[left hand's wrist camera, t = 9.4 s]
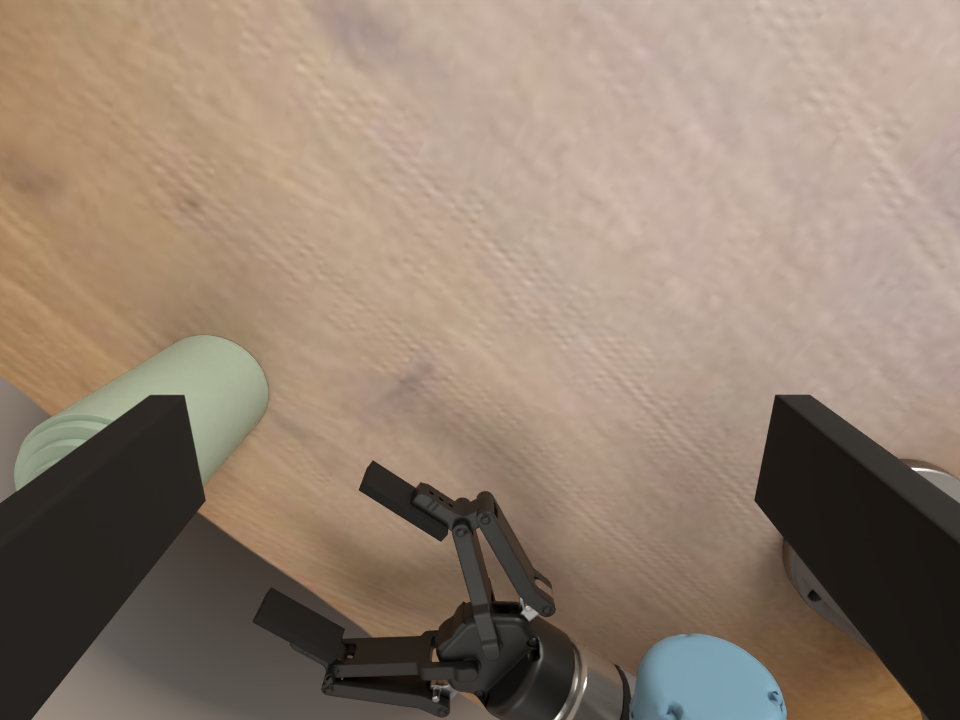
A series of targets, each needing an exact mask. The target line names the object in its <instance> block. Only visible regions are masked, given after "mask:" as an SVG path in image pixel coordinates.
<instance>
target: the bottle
mask: <svg viewBox="0 0 960 720" xmlns="http://www.w3.org/2000/svg"><path fill="white" fill-rule="evenodd" d="M149 395H185V399H186V404H187V409H188V414H189V419H190V424H191V429H192V434H193V439H194V444H195V450H196V455H197V460H198V465H199V470H200V475H201V480H202V485H203V487H204V486H205V484H206V483H207V482H208V481H209V480H210V479H211V477H212V476H213V475H214V474H215V473H216V472H217V470H218V469H219V468H220V467H221V466H222V464H223V463H224V462H225V461H226V460H227V459H228V457H229V456H230V455H231V454H232V453H233V451H234V450H235V449H236V448H237V447H238V446H239V444H240V443H241V442H242V441H243V440H244V438H245V437H246V436H247V435H248V434H249V433H250V431H251V430H252V429H253V428H254V427H255V425H256V424H257V423H258V422H259V421H260V419H261V418H262V416H263V415H264V413H265V410H266V407H267V404H268V385H267V381H266V378H265V375H264V373H263V371H262V369H261V367H260V366H259V364H258V363H257V362H256V360H255V359H254V358H253V357H252V356H251V355H250V354H249V353H248V352H247V351H246V350H244V349H243V348H242V347H240V346H239V345H237V344H235V343H233V342H231V341H229V340H226V339H224V338H220V337H216V336H209V335H197V336H191V337H187V338H184V339H182V340H180V341H178V342H176V343H174V344H173V345H171V346H169V347H168V348H166V349H164V350H163V351H161V352H159V353H158V354H156V355H154V356H153V357H151V358H149V359H148V360H146V361H144V362H143V363H141V364H139V365H138V366H136V367H134V368H133V369H131V370H129V371H128V372H126V373H124V374H123V375H121V376H119V377H118V378H116V379H114V380H113V381H111V382H109V383H108V384H106V385H104V386H103V387H101V388H100V389H98V390H96V391H95V392H93V393H91V394H90V395H88V396H86V397H85V398H83V399H81V400H80V401H78V402H76V403H75V404H73V405H71V406H70V407H68V408H66V409H65V410H63V411H61V412H60V413H58V414H56V415H55V416H53V417H51V418H50V419H48V420H46V421H45V422H43V423H41V424H40V425H38V426H37V427H36V428H34V429H33V430H32V431H31V432H30V433H29V435H28V436H27V437H26V438H25V440H24V442H23V444H22V446H21V448H20V451H19V454H18V457H17V460H16V463H15V469H14V481H15V487H16V490H17V491H18V490H19V489H21V488H22V487H24V486H25V485H26V484H28V483H29V482H30V481H32V480H33V479H35V478H36V477H37V476H39V475H40V474H41V473H43V472H44V471H46V470H47V469H48V468H50V467H51V466H53V465H54V464H55V463H57V462H58V461H59V460H61V459H62V458H64V457H65V456H66V455H68V454H69V453H70V452H72V451H73V450H75V449H76V448H77V447H79V446H80V445H82V444H83V443H84V442H86V441H87V440H88V439H90V438H91V437H93V436H94V435H95V434H97V433H98V432H99V431H101V430H102V429H104V428H105V427H106V426H108V425H109V424H111V423H112V422H113V421H115V420H116V419H117V418H119V417H120V416H122V415H123V414H124V413H126V412H127V411H128V410H130V409H131V408H133V407H134V406H135V405H137V404H138V403H140V402H141V401H142V400H144V399H145V398H146V397H148V396H149Z"/></svg>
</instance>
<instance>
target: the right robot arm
mask: <svg viewBox="0 0 960 720" xmlns="http://www.w3.org/2000/svg"><path fill="white" fill-rule="evenodd" d="M899 460H901V461H902V462H903V463H905V464H906V465H908V466H909V467H910V468H912V469H913V470H914V471H916V472H917V473H919V474H920V475H921V476H923V477H924V478H925V479H927V480H928V481H930V482H931V483H932V484H934V485H935V486H937V487H938V488H939V489H941V490H942V491H943V492H945V493H946V494H948V495H949V496H950V497H952V498H953V499H954V500H956V501H957V502H959V503H960V480H959V479H958V478H956V477H955V476H953V475H952V474H950V473H949V472H947V471H945V470H944V469H942V468H940V467H938V466H935V465H933V464H930V463H926V462H922V461H917V460H908V459H899ZM359 491H361V492H362V493H364V494H366V495H367V496H369V497H370V498H372V499H374V500H375V501H377V502H378V503H380V504H382V505H383V506H385V507H386V508H388V509H390V510H391V511H393V512H394V513H396V514H397V515H399V516H401V517H402V518H404V519H405V520H407V521H409V522H410V523H412V524H413V525H415V526H417V527H418V528H420V529H421V530H423V531H425V532H426V533H428V534H429V535H431V536H432V537H434V538H436V539H437V540H439V541H440V542H441V541H442V540H443V539H444V538H445V537H446V536H447V535H448V529H449V530H451V531H452V535H453V539H454V542H455V546H456V550H457V553H458V557H459V560H460V564H461V568H462V571H463V575H464V578H465V582H466V585H467V589H468V593H469V596H470V600H471V602H468V603H465V602H463V603H462V604H461V605H460V606H459V607H458V608H457V610H456V612H455V614H454V615H453V616H452V617H451V618H449V619H447V620H446V621H444V622H443V623H442V624H441V626H440V627H439V630H434V631H426V632H424V633H423V634H422V635H421V636H410V637H381V638H352V639H342V637H343V633H344V630H345V629H344V628H342V627H341V626H339V625H337V624H335V623H333V622H332V621H330V620H328V619H326V618H325V617H323V616H321V615H319V614H318V613H316V612H314V611H312V610H310V609H309V608H307V607H305V606H303V605H302V604H300V603H298V602H296V601H294V600H293V599H291V598H289V597H287V596H286V595H284V594H282V593H280V592H279V591H277V590H275V589H273V588H271V589H270V590H269V591H268V592H267V594H266V596H265V598H264V600H263V602H262V604H261V606H260V608H259V610H258V612H257V614H256V616H255V618H254V620H253V623H255V624H257V625H259V626H261V627H263V628H264V629H266V630H268V631H270V632H272V633H274V634H275V635H277V636H279V637H281V638H283V639H285V640H286V641H288V642H290V646H291V647H292V648H293V649H294V650H296V651H297V652H300V653H302V654H303V655H306V656H307V657H309V658H310V659H312V660H314V661H316V662H318V663H320V664H321V665H323V666H324V667H325V669H326V674H325V678H324V681H323V685H322V688H321V689H322V692H323V693H324V694H326V695H329V696H336V697H343V698H350V699H357V700H364V701H371V702H378V703H385V704H392V705H399V706H406V707H413V708H419V709H421V710H424V711H426V712H428V713H431V714H433V715H435V716H438V717H446V716H448V715H449V713H450V701H451V700H452V699H453V697H454V696H455V695H456V694H457V692H458V691H460V692H468V693H472V694H474V695H476V696H477V697H478V698H479V700H480V701H481V702H482V704H483V705H484V706H485V708H486V709H487V711H488V712H489V713H490V714H492V715H493V716H495V717H497V718H499V719H500V720H786V716H787V712H786V707H785V703H784V700H783V695H782V693H781V690H780V688H779V686H778V684H777V682H776V681H775V679H774V678H773V677H772V675H771V674H770V672H769V671H768V670H767V669H766V668H765V667H764V666H763V665H762V664H761V663H760V662H759V661H758V660H757V659H755V658H754V657H753V656H752V655H750V654H749V653H748V652H747V651H745V650H743V649H742V648H740V647H739V646H737V645H735V644H733V643H731V642H729V641H726V640H724V639H721V638H718V637H715V636H710V635H706V634H699V633H691V634H686V635H685V634H680V635H677V636H674V635H673V636H669V637H666V638H664V639H662V640H660V641H658V642H657V643H655V644H654V645H653V646H652V647H650V648H649V649H648V651H647V652H646V653H645V655H644V656H643V658H642V660H641V663H640V665H639V668H638V672H637V677H635V676H634V675H632V674H630V673H629V672H627V671H625V670H624V669H622V668H620V667H619V666H617V665H614V664H613V663H611V662H610V661H609V660H607V659H606V658H604V657H602V656H601V655H599V654H597V653H596V652H594V651H593V650H591V649H589V648H588V647H586V646H585V645H583V644H581V643H580V642H578V641H576V640H575V639H573V638H569V637H568V636H567V634H566V633H564V632H563V631H561V630H560V629H558V628H556V627H555V626H553V625H552V624H550V623H548V622H547V621H545V620H544V619H542V618H540V617H539V616H537V615H539V614H540V615H542V616H544V617H549V616H551V615H553V614H554V613H555V605H554V598H553V592H552V586H551V582H550V581H549V580H548V579H546V578H545V577H544V576H543V575H541V574H540V573H539V572H538V571H537V570H535V569H534V568H533V566H532V565H531V563H530V561H529V559H528V557H527V556H526V554H525V552H524V550H523V548H522V547H521V545H520V543H519V541H518V539H517V538H516V536H515V534H514V532H513V530H512V529H511V527H510V525H509V523H508V521H507V520H506V518H505V516H504V514H503V513H502V511H501V509H500V507H499V505H498V504H497V502H496V500H495V498H494V496H493V495H492V494H491V493H490V492H487V491H483V492H481V493H479V494H478V495H477V499H475V500H473V501H471V502H470V501H469V500H468V499H466V498H459V499H457V500H456V501H453V500H452V499H450V498H449V497H447V496H446V495H444V494H442V493H440V492H439V491H438V490H436V489H435V488H433V487H432V486H430V485H429V484H425V483H420V484H419V485H418V486H417V487H416V488H415V487H413V486H412V485H410V484H409V483H407V482H406V481H404V480H403V479H401V478H399V477H398V476H396V475H395V474H393V473H392V472H390V471H389V470H387V469H385V468H384V467H382V466H381V465H379V464H378V463H376V462H375V461H372V462H371V464H370V465H369V466H368V467H367V469H366V472H365V475H364V477H363V480H362V483H361V485H360V488H359ZM479 527H480V529H481V531H482V532H483V534H484V536H485V537H486V539H487V541H488V543H489V544H490V546H491V548H492V550H493V551H494V553H495V555H496V556H497V558H498V560H499V562H500V563H501V565H502V567H503V568H504V570H505V572H506V574H507V575H508V577H509V579H510V581H511V582H512V584H513V586H514V587H515V589H516V591H517V593H518V594H519V602H520V603H518V602H506V601H495V597H494V593H493V589H492V585H491V581H490V578H488V574H487V571H486V567H485V563H484V559H483V555H482V551H481V548H480V544H479V540H478V536H477V532H476V529H477V528H479ZM783 560H784V566H785V570H786V573H787V575H788V578H789V580H790V581H791V583H792V585H793V586H794V587H795V589H796V590H797V591H798V593H799V594H800V596H801V597H802V598H803V600H804V601H805V602H806V603H807V604H808V605H809V606H810V607H811V608H812V609H813V610H814V611H815V612H816V613H818V614H819V615H820V616H822V617H823V618H824V619H826V620H827V621H829V622H830V623H832V624H833V625H834V626H836V627H837V628H839V629H840V630H842V631H843V632H844V633H846V634H847V635H849V636H850V637H852V638H853V639H854V640H856V641H857V642H859V643H860V644H862V645H863V646H864V647H866V648H867V649H869V650H870V651H872V652H873V653H874V654H876V653H875V651H874V650H873V649H872V648H871V646H870V645H869V644H868V643H867V641H866V640H865V639H864V638H863V636H862V635H861V634H860V633H859V631H858V630H857V629H856V628H855V626H854V625H853V624H852V623H851V621H850V620H849V619H848V618H847V616H846V615H845V614H844V612H843V611H842V610H841V609H840V607H839V606H838V605H837V604H836V602H835V601H834V600H833V599H832V597H831V596H830V595H829V594H828V592H827V591H826V590H825V589H824V587H823V586H822V585H821V584H820V582H819V581H818V580H817V579H816V577H815V576H814V575H813V574H812V572H811V571H810V570H809V569H808V567H807V566H806V565H805V564H804V562H803V561H802V560H801V558H800V557H799V556H798V555H797V553H796V552H795V551H794V550H793V548H792V547H791V546H790V545H789V543H788V542H787V541H786V540H785V541H784V548H783ZM434 648H436V653H437V657H438V659H439V661H440V662H432V653H433V649H434ZM348 655H351V656H353V658H352V659H350V658H347V656H348ZM876 655H877V654H876ZM877 656H878V655H877ZM878 658H879V656H878ZM879 659H880V658H879ZM880 660H881V659H880ZM881 661H882V660H881ZM882 662H883V661H882ZM883 664H884V663H883ZM884 665H885V664H884ZM885 666H886V665H885ZM886 667H887V666H886ZM887 669H888V668H887ZM888 670H889V669H888ZM889 671H890V670H889ZM891 674H892V673H891ZM892 675H893V674H892ZM893 676H894V675H893ZM341 677H344V678H343V680H341ZM895 679H896V678H895ZM896 680H897V679H896ZM897 681H898V680H897ZM898 683H899V682H898ZM899 684H900V683H899ZM900 685H901V684H900ZM901 686H902V685H901ZM902 688H903V687H902ZM903 689H904V688H903ZM904 690H905V689H904ZM905 691H906V690H905ZM906 693H907V692H906ZM907 694H908V693H907ZM908 695H909V694H908ZM909 696H910V695H909ZM910 698H911V697H910ZM911 699H912V698H911ZM912 700H913V699H912ZM913 701H914V700H913ZM914 703H915V702H914ZM915 704H916V703H915ZM916 705H917V704H916ZM917 707H918V705H917ZM918 708H919V707H918ZM919 710H920V712H921V715H922V719H923V720H929V719H928V718H927V717H926V715H925V714H924V713H923V712H922V710H921V709H920V708H919Z"/></svg>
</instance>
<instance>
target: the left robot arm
mask: <svg viewBox="0 0 960 720" xmlns="http://www.w3.org/2000/svg"><path fill="white" fill-rule="evenodd" d="M205 501H206V500H205V495H204V490H203V485H202V480H201V475H200V470H199V465H198V460H197V455H196V450H195V444H194V439H193V434H192V429H191V424H190V419H189V414H188V409H187V404H186V399H185V395H149V396H148V397H146V398H145V399H144V400H142V401H141V402H140V403H138V404H137V405H135V406H134V407H133V408H131V409H130V410H128V411H127V412H126V413H124V414H123V415H122V416H120V417H119V418H117V419H116V420H115V421H113V422H112V423H111V424H109V425H108V426H106V427H105V428H104V429H102V430H101V431H99V432H98V433H97V434H95V435H94V436H93V437H91V438H90V439H88V440H87V441H86V442H84V443H83V444H82V445H80V446H79V447H77V448H76V449H75V450H73V451H72V452H70V453H69V454H68V455H66V456H65V457H64V458H62V459H61V460H59V461H58V462H57V463H55V464H54V465H53V466H51V467H50V468H48V469H47V470H46V471H44V472H43V473H41V474H40V475H39V476H37V477H36V478H35V479H33V480H32V481H30V482H29V483H28V484H26V485H25V486H24V487H22V488H21V489H19V490H18V491H17V492H15V493H14V494H12V495H11V496H10V497H8V498H7V499H6V500H4V501H3V502H1V503H0V720H31V719H32V718H33V717H34V715H35V714H36V713H37V712H38V710H39V709H40V708H41V707H42V705H43V704H44V703H45V702H46V700H47V699H48V698H49V697H50V695H51V694H52V693H53V692H54V690H55V689H56V688H57V687H58V685H59V684H60V683H61V682H62V680H63V679H64V678H65V677H66V675H67V674H68V673H69V672H70V670H71V669H72V668H73V666H74V665H75V664H76V663H77V661H78V660H79V659H80V658H81V656H82V655H83V654H84V653H85V651H86V650H87V649H88V648H89V646H90V645H91V644H92V643H93V641H94V640H95V639H96V638H97V636H98V635H99V634H100V632H101V631H102V630H103V629H104V628H105V626H106V625H107V624H108V623H109V621H110V620H111V619H112V618H113V616H114V615H115V614H116V612H117V611H118V610H119V609H120V607H121V606H122V605H123V604H124V602H125V601H126V600H127V599H128V597H129V596H130V595H131V594H132V592H133V591H134V590H135V589H136V587H137V586H138V585H139V584H140V582H141V581H142V580H143V579H144V577H145V576H146V575H147V573H148V572H149V571H150V570H151V569H152V567H153V566H154V565H155V564H156V562H157V561H158V560H159V558H160V557H161V556H162V555H163V553H164V552H165V551H166V550H167V548H168V547H169V546H170V545H171V543H172V542H173V541H174V540H175V538H176V537H177V536H178V535H179V533H180V532H181V531H182V530H183V528H184V527H185V526H186V525H187V523H188V522H189V521H190V520H191V518H192V517H193V516H194V514H195V513H196V512H197V511H198V510H199V508H200V507H201V506H202V504H203V503H204V502H205ZM754 501H755V502H756V503H757V504H758V506H759V507H760V508H761V509H762V511H763V512H764V513H765V515H766V516H767V517H768V518H769V520H770V521H771V522H772V523H773V525H774V526H775V527H776V528H777V530H778V531H779V532H780V533H781V535H782V536H783V537H784V538H785V540H786V541H787V542H788V543H789V545H790V546H791V547H792V548H793V550H794V551H795V552H796V553H797V555H798V556H799V557H800V558H801V560H802V561H803V562H804V564H805V565H806V566H807V567H808V569H809V570H810V571H811V572H812V574H813V575H814V576H815V577H816V579H817V580H818V581H819V582H820V584H821V585H822V586H823V587H824V589H825V590H826V591H827V592H828V594H829V595H830V596H831V597H832V599H833V600H834V601H835V602H836V604H837V605H838V606H839V607H840V609H841V610H842V611H843V612H844V614H845V615H846V616H847V618H848V619H849V620H850V621H851V623H852V624H853V625H854V626H855V628H856V629H857V630H858V631H859V633H860V634H861V635H862V636H863V638H864V639H865V640H866V641H867V643H868V644H869V645H870V646H871V648H872V649H873V650H874V651H875V653H876V654H877V655H878V656H879V658H880V659H881V660H882V661H883V663H884V664H885V665H886V666H887V668H888V669H889V670H890V672H891V673H892V674H893V675H894V677H895V678H896V679H897V680H898V682H899V683H900V684H901V685H902V687H903V688H904V689H905V690H906V692H907V693H908V694H909V695H910V697H911V698H912V699H913V700H914V702H915V703H916V704H917V705H918V707H919V708H920V709H921V710H922V712H923V713H924V714H925V715H926V717H927V718H928V719H929V720H960V503H959V502H957V501H956V500H954V499H953V498H952V497H950V496H949V495H948V494H946V493H945V492H943V491H942V490H941V489H939V488H938V487H937V486H935V485H934V484H932V483H931V482H930V481H928V480H927V479H925V478H924V477H923V476H921V475H920V474H919V473H917V472H916V471H914V470H913V469H912V468H910V467H909V466H908V465H906V464H905V463H903V462H902V461H901V460H899V459H898V458H896V457H895V456H894V455H892V454H891V453H890V452H888V451H887V450H885V449H884V448H883V447H881V446H880V445H878V444H877V443H876V442H874V441H873V440H872V439H870V438H869V437H867V436H866V435H865V434H863V433H862V432H861V431H859V430H858V429H856V428H855V427H854V426H852V425H851V424H849V423H848V422H847V421H845V420H844V419H843V418H841V417H840V416H838V415H837V414H836V413H834V412H833V411H832V410H830V409H829V408H827V407H826V406H825V405H823V404H822V403H820V402H819V401H818V400H816V399H815V398H814V397H812V396H811V395H775V399H774V404H773V409H772V414H771V419H770V424H769V429H768V434H767V440H766V445H765V450H764V455H763V460H762V465H761V470H760V475H759V480H758V485H757V490H756V495H755V500H754Z"/></svg>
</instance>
